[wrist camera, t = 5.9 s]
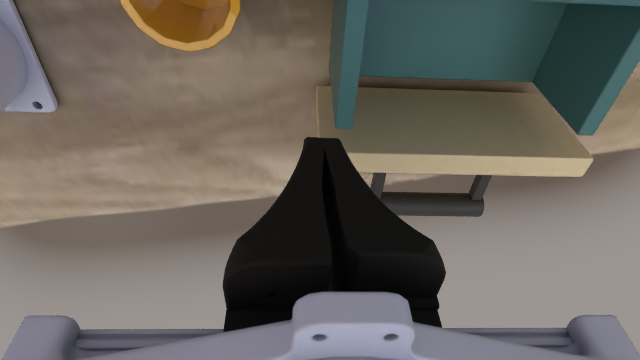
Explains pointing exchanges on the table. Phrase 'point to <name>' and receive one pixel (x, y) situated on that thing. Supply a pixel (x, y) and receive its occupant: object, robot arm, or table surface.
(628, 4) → the cabinet
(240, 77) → the table surface
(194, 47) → the cup
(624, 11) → the drawer
